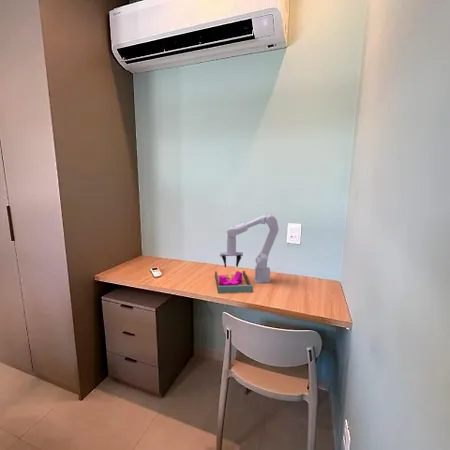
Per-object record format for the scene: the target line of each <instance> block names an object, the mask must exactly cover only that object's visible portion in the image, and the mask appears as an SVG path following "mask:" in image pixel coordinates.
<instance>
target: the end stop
mask: <svg viewBox="0 0 450 450" xmlns="http://www.w3.org/2000/svg"><path fill="white" fill-rule="evenodd" d="M253 286H254V285H252V284H251V285H247V284H244V285H243V284H239V285H233V286H218V290H217V293H218V294H233V293H234V294H236V293H253V291H254V290H253V288H254V287H253Z"/></svg>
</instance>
